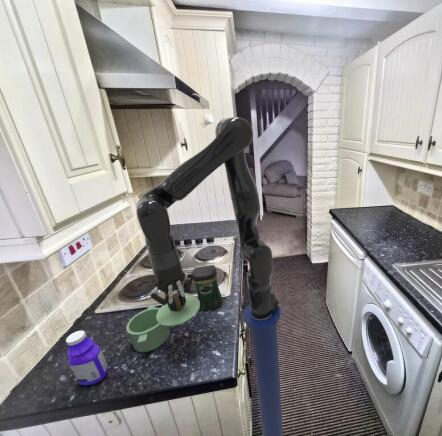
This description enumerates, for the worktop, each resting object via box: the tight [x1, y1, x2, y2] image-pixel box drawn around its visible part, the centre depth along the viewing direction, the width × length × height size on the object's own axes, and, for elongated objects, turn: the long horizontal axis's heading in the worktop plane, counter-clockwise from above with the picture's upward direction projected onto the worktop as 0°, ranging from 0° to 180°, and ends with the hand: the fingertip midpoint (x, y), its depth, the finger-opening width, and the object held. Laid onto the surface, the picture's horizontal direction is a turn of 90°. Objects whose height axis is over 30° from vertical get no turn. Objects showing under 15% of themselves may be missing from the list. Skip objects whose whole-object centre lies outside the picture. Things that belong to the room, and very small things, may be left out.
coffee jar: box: [192, 264, 223, 311], centre depth 96 cm, size 10×8×19 cm
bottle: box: [65, 330, 109, 386], centre depth 68 cm, size 7×6×17 cm
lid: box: [156, 292, 200, 327], centre depth 74 cm, size 13×13×7 cm
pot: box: [125, 304, 171, 353], centre depth 83 cm, size 12×17×8 cm
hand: (178, 307), depth 74 cm, fingers closed on lid, 2 cm apart
